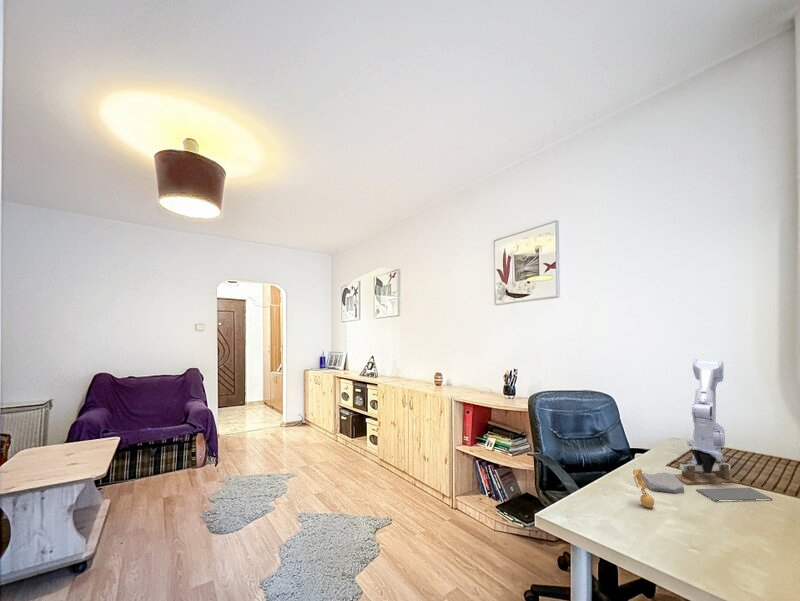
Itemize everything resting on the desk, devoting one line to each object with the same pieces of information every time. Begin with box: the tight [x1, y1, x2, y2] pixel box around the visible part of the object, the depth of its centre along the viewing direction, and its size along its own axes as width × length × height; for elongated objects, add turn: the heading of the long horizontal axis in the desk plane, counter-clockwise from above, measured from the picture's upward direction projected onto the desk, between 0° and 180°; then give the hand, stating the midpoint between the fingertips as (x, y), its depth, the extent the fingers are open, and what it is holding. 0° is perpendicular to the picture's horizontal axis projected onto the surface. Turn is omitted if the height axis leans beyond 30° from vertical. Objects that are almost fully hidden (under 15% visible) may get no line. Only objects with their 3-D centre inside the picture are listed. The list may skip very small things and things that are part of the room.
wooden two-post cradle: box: [672, 460, 740, 486], centre depth 148 cm, size 20×7×6 cm, turn 91°
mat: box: [695, 487, 773, 502], centre depth 136 cm, size 8×20×1 cm, turn 91°
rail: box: [679, 462, 731, 472], centre depth 148 cm, size 18×2×2 cm, turn 91°
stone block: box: [642, 472, 685, 494], centre depth 143 cm, size 12×5×10 cm
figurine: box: [632, 468, 655, 508], centre depth 130 cm, size 8×6×12 cm
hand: (705, 471), depth 148 cm, fingers closed on rail, 2 cm apart
